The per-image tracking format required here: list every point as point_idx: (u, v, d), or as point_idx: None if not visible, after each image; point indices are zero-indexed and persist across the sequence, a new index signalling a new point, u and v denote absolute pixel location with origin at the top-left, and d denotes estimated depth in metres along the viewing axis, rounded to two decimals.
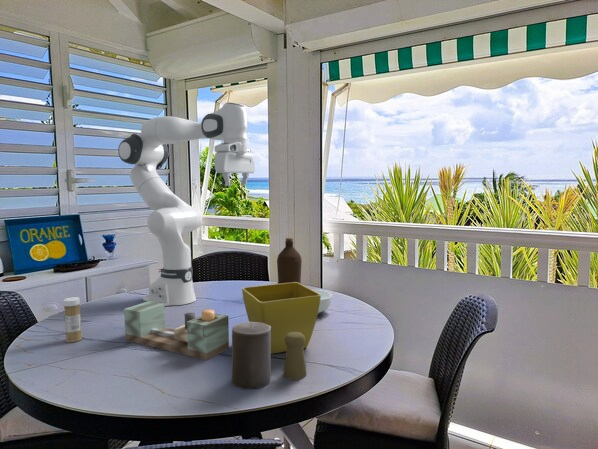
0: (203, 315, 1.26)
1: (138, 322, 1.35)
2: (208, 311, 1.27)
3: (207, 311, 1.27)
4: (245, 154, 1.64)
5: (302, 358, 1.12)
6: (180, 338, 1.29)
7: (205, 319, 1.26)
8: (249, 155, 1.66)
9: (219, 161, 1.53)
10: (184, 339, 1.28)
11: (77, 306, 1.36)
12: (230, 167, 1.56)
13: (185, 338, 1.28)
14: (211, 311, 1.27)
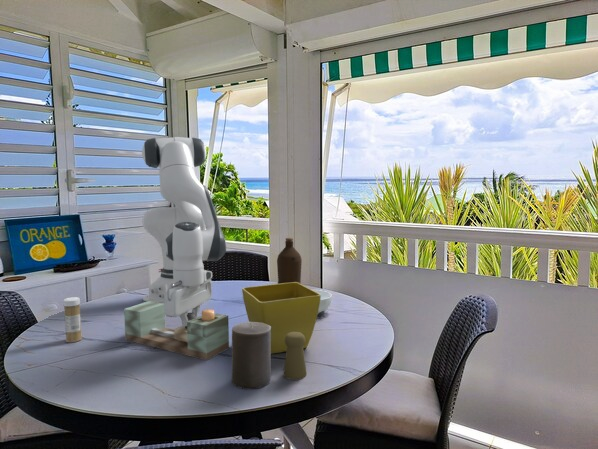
0: (203, 315, 1.26)
1: (138, 322, 1.35)
2: (208, 311, 1.27)
3: (207, 311, 1.27)
4: None
5: (302, 358, 1.12)
6: (180, 338, 1.29)
7: (205, 319, 1.26)
8: None
9: None
10: (184, 339, 1.28)
11: (77, 306, 1.36)
12: None
13: (185, 338, 1.28)
14: (211, 311, 1.27)
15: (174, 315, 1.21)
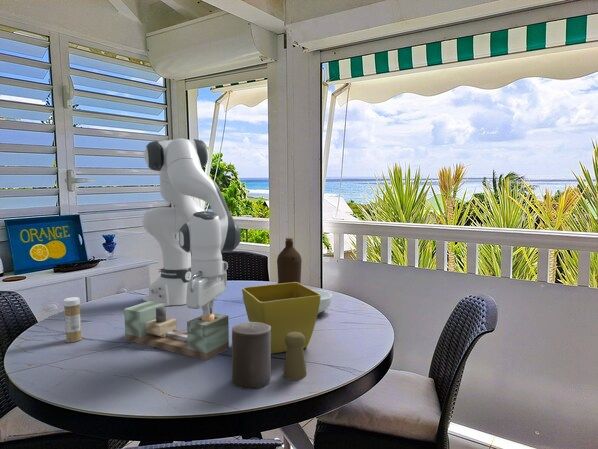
0: (203, 319, 1.26)
1: (138, 322, 1.35)
2: None
3: None
4: None
5: (302, 358, 1.12)
6: (151, 331, 1.35)
7: None
8: None
9: None
10: (155, 332, 1.34)
11: (77, 306, 1.36)
12: None
13: (155, 331, 1.34)
14: (211, 315, 1.28)
15: (197, 306, 1.17)
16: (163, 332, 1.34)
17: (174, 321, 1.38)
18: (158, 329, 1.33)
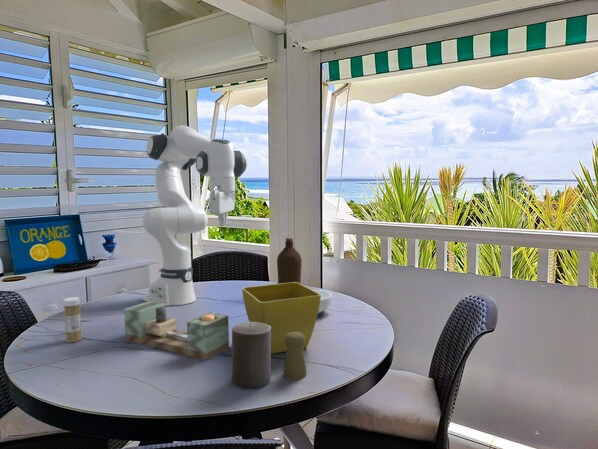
0: (203, 320, 1.26)
1: (138, 322, 1.35)
2: (208, 316, 1.27)
3: (207, 316, 1.27)
4: None
5: (302, 358, 1.12)
6: (151, 331, 1.35)
7: None
8: None
9: None
10: (155, 332, 1.34)
11: (77, 306, 1.36)
12: None
13: (155, 331, 1.34)
14: (211, 316, 1.28)
15: (218, 212, 1.44)
16: (163, 332, 1.34)
17: (174, 321, 1.38)
18: (158, 329, 1.33)
